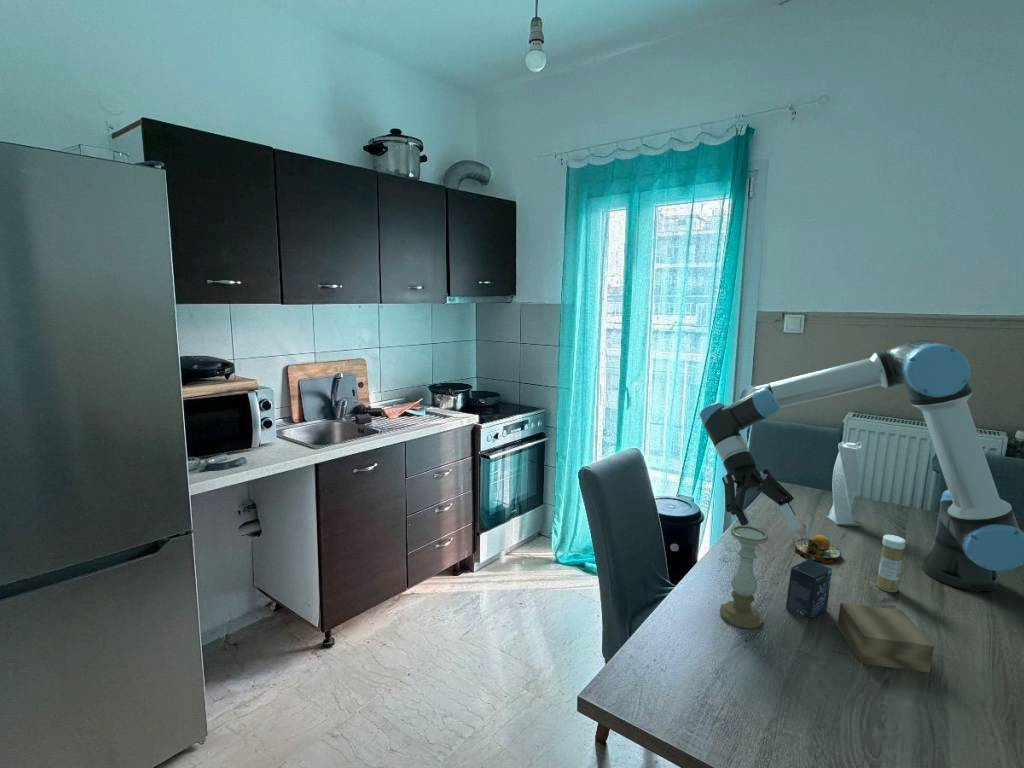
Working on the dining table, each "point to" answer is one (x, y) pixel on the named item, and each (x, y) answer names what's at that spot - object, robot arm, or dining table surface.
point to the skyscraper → (845, 483)
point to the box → (808, 589)
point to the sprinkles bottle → (890, 563)
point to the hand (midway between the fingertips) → (776, 533)
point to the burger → (818, 549)
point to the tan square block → (885, 637)
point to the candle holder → (744, 580)
